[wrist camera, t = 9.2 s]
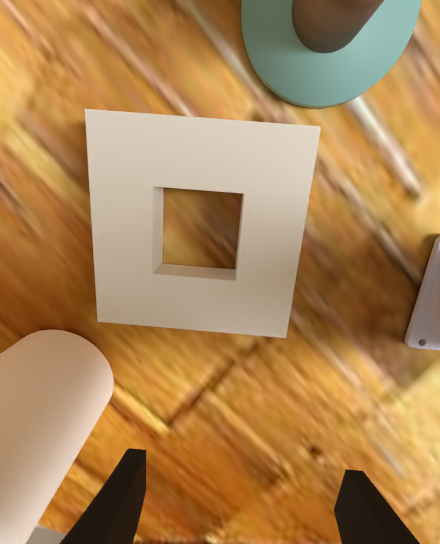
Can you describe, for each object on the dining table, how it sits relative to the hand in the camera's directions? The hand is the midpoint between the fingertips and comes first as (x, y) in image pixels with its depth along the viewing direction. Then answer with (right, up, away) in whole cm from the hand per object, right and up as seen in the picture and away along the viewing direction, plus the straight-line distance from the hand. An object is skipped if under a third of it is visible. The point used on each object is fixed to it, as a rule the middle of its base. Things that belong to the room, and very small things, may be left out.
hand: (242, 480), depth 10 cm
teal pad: (+5, +21, +4) cm, 22 cm away
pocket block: (-2, +10, +8) cm, 13 cm away
